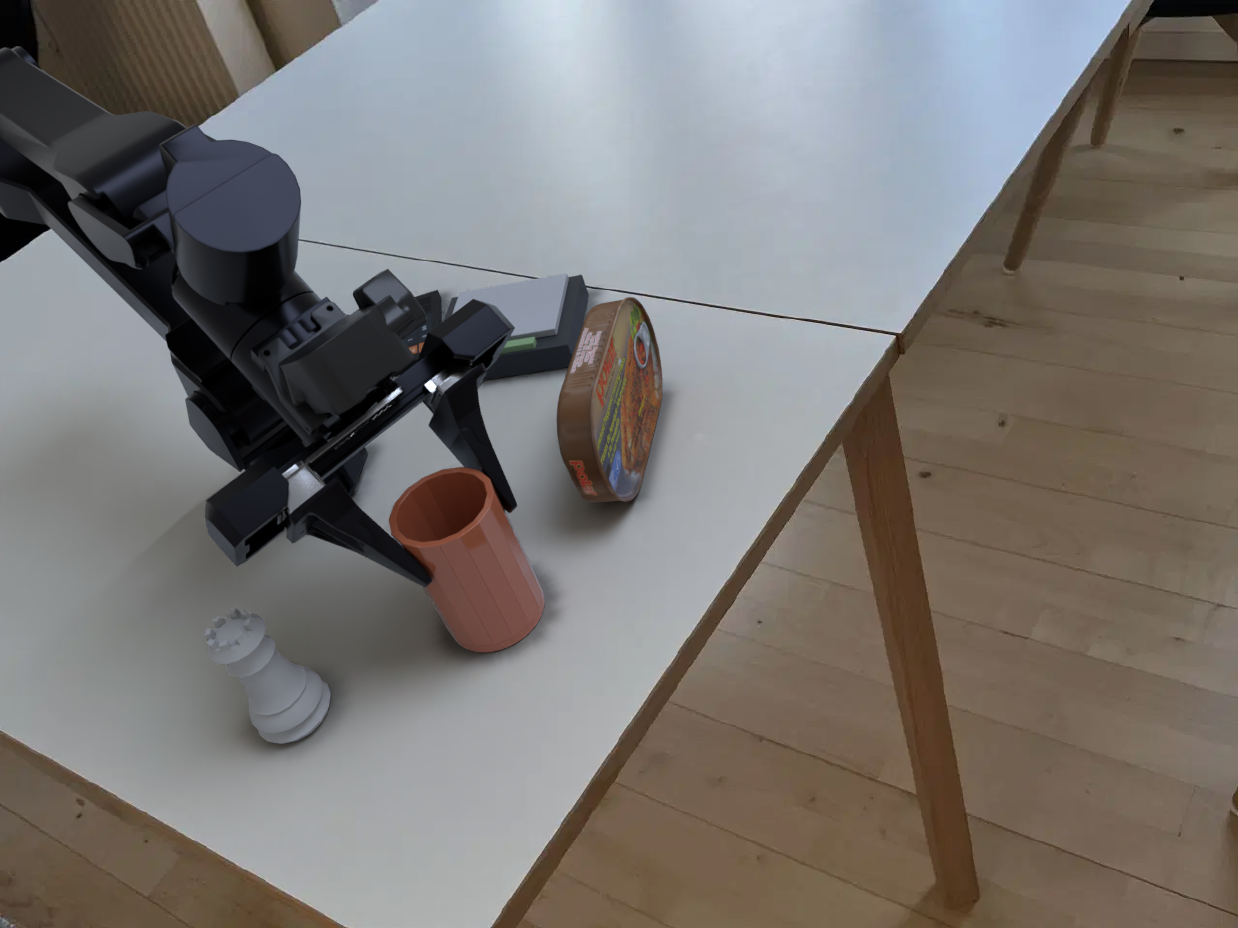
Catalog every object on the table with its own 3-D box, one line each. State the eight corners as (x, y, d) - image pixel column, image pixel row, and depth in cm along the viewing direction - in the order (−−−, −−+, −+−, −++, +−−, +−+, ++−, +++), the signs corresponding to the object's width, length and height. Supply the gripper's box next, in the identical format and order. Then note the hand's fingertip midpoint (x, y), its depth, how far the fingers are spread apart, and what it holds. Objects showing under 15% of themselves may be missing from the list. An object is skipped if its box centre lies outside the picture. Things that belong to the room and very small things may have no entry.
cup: (440, 656, 61) (377, 552, 55) (461, 578, 65) (403, 474, 59) (537, 648, 59) (482, 540, 54) (551, 569, 64) (501, 461, 58)
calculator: (442, 361, 83) (428, 330, 81) (302, 404, 84) (284, 375, 82) (441, 298, 90) (428, 268, 88) (312, 338, 91) (296, 309, 89)
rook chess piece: (315, 667, 63) (249, 579, 58) (347, 710, 60) (281, 622, 55) (249, 716, 61) (175, 631, 56) (278, 763, 58) (203, 677, 53)
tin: (630, 530, 64) (592, 427, 59) (581, 531, 65) (539, 430, 60) (670, 370, 75) (641, 270, 69) (628, 374, 76) (595, 275, 70)
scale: (436, 387, 81) (423, 361, 79) (460, 317, 87) (448, 291, 85) (575, 366, 78) (565, 338, 76) (589, 295, 84) (579, 267, 83)
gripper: (102, 380, 46) (346, 650, 46) (428, 162, 53) (637, 394, 53) (131, 452, 56) (331, 672, 56) (401, 260, 64) (577, 455, 64)
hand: (472, 546), depth 57 cm, fingers closed on cup, 6 cm apart
